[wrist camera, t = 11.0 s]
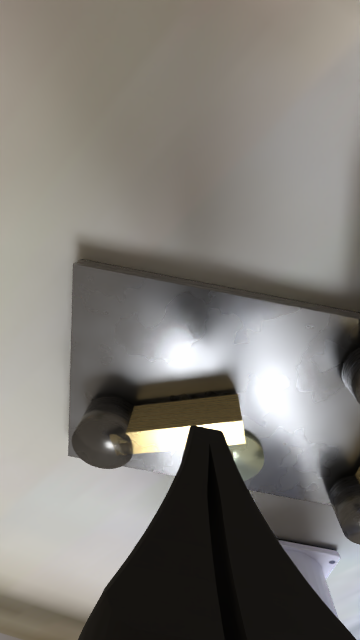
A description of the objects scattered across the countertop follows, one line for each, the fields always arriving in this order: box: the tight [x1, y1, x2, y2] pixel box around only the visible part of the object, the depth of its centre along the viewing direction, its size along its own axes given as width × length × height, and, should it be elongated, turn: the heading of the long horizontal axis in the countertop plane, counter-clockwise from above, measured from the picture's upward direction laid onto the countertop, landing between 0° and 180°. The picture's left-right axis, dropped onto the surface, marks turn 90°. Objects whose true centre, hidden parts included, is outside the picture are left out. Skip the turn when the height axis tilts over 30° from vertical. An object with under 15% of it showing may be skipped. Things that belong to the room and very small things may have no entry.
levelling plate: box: [68, 259, 360, 505], centre depth 18 cm, size 14×23×2 cm, turn 80°
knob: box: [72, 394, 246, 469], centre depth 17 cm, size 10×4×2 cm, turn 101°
